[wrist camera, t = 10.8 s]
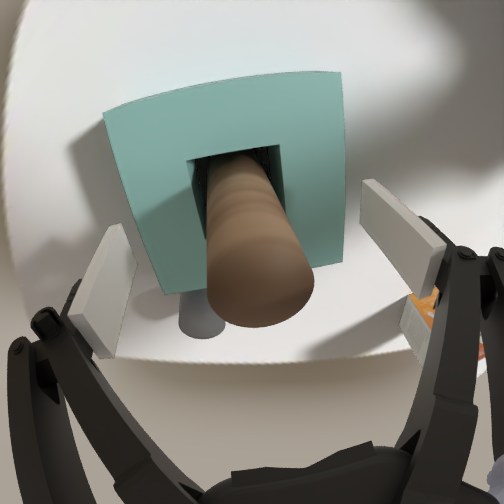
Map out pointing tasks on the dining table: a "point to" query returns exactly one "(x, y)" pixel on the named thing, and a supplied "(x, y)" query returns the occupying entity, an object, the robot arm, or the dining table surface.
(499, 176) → the dining table surface
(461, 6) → the dining table surface
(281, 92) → the hole block
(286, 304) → the walnut dowel
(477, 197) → the dining table surface
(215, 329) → the charcoal dowel
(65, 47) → the dining table surface
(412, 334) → the small box
